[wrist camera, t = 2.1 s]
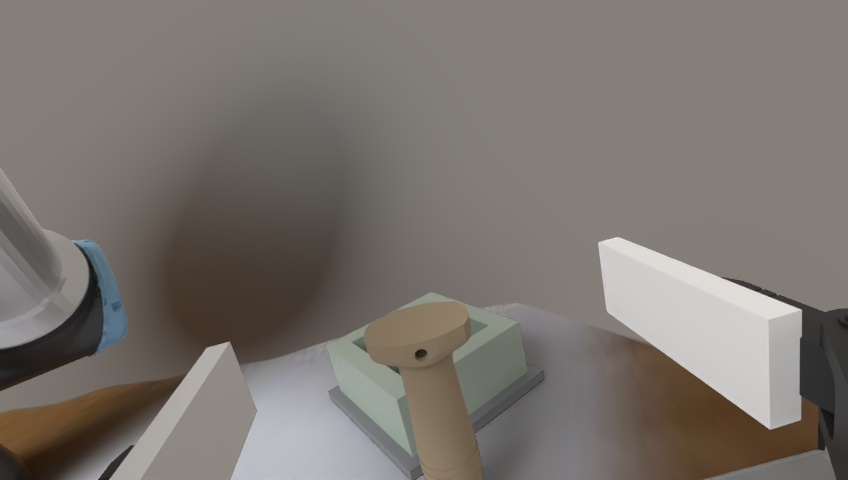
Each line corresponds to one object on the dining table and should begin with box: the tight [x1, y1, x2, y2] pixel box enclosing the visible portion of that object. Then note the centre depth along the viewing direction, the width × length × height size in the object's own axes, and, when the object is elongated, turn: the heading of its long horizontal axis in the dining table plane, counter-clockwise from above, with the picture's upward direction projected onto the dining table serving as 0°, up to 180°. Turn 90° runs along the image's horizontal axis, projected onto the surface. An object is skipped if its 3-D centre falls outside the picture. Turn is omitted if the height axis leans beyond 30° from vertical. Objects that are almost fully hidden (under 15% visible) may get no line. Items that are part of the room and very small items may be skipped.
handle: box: [364, 301, 483, 480], centre depth 28 cm, size 5×6×15 cm
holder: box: [326, 292, 544, 480], centre depth 43 cm, size 16×16×6 cm
